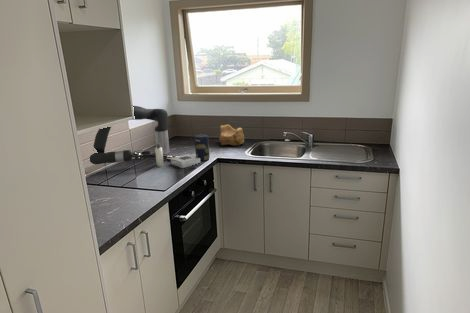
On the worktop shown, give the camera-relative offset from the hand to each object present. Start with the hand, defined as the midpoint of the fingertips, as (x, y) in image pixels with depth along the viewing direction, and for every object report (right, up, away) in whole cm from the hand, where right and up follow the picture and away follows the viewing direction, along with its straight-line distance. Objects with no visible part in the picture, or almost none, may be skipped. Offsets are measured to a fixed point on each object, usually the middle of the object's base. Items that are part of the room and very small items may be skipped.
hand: (149, 154), depth 216 cm
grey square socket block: (+23, -6, +5) cm, 24 cm away
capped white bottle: (+6, -8, +3) cm, 10 cm away
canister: (+33, -4, +14) cm, 36 cm away
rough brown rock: (+51, +8, +55) cm, 75 cm away
